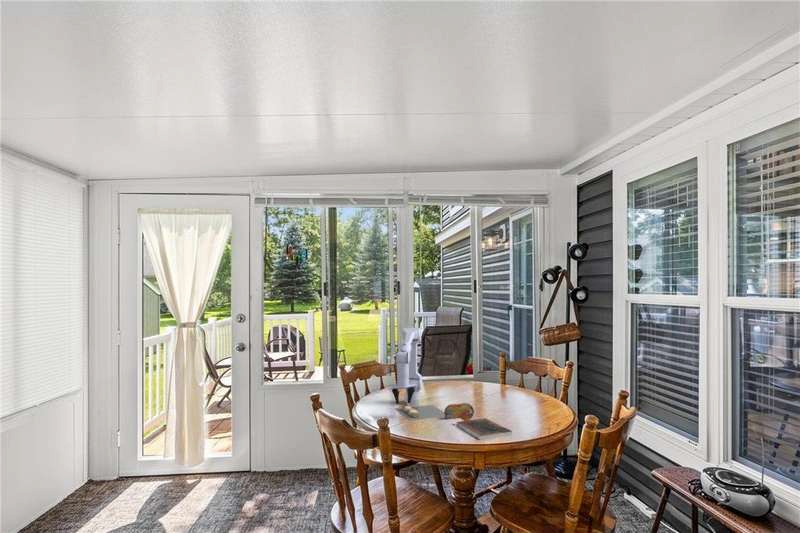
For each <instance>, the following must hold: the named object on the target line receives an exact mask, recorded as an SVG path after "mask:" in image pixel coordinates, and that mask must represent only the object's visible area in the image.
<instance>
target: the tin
mask: <svg viewBox="0 0 800 533" xmlns="http://www.w3.org/2000/svg"><path fill="white" fill-rule="evenodd" d="M443 412H444V414H445V417H444V418H445V419H446V420H451V419H453V420H455V419H461V421H468V420H472V418H473V416H474V414H475V410H474V407H473V406H472V405H471V404H470V403H468V402H467V403H466V402H460V403H451V404H447V406H445V408H444V410H443Z"/></svg>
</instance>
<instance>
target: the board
mask: <svg viewBox="0 0 800 533" xmlns="http://www.w3.org/2000/svg"><path fill="white" fill-rule="evenodd" d="M411 407H412V408H413V409H414V406H411ZM394 410H395V411H396V412H398V413H399V414H400V415H402V416H403V417H404V418H405V419H406V420H408V421H417V420H426V419H433V418H434V419H435V418H443V417H444V418H446V417H445V414H444V410H442V409H440V408H438V407H437V406H435V405H434V404H428V405H426V404H425V405H419V409H415V410H416V411H417V412H419V417H412V416H411V415H410V414H408V413H407V412H406V411H405V410H402V407H399V408H394Z"/></svg>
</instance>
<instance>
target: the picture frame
mask: <svg viewBox="0 0 800 533" xmlns="http://www.w3.org/2000/svg"><path fill="white" fill-rule="evenodd" d="M456 426H457V427H458V428H459V429H462V430H464V431H465V432H466V433H468V434H470V435H471V434H472V436H473V437H475V438H476V437H477V438H476V439H477V440H482V439H483V440H490V439H495V438H500V437H501V438H503V437H509V436H513V430H510V429H508V428H506V427H504V426H502V425H500V424H498V423H496V422H494V421H492V420H490V419H488V418H487V417H485V418H477V419H476V418H475V419H470V420H468V421H464V420H460V421H456ZM502 436H503V437H502Z"/></svg>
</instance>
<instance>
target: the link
mask: <svg viewBox="0 0 800 533" xmlns="http://www.w3.org/2000/svg"><path fill="white" fill-rule="evenodd" d="M412 407H413V406H412V405H408V403H406V402H404V403H403V404H401V408H402V410H405V411H406V412H407V413H408V414H410V415H411V416H412V417H419V412H417V411H416V410H415V409H413V408H412Z"/></svg>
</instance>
